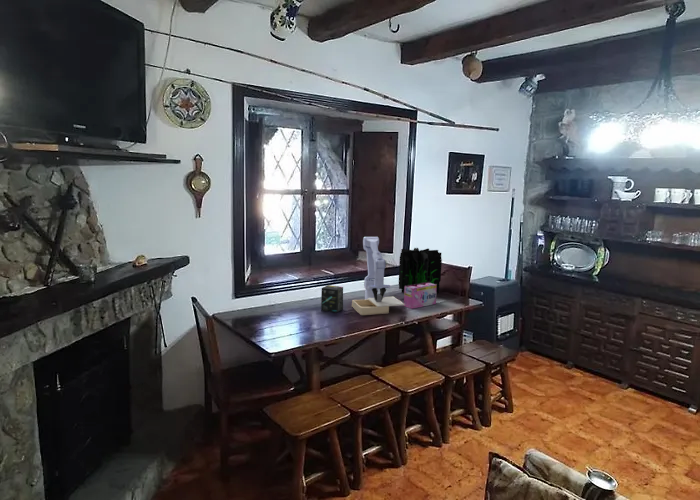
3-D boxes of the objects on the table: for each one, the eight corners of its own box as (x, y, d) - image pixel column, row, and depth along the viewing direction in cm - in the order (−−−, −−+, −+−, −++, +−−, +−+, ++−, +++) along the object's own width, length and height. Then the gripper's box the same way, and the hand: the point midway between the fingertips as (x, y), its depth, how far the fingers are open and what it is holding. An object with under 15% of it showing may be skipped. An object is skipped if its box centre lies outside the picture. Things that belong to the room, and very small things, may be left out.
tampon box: (343, 309, 293) (343, 286, 291) (336, 313, 285) (337, 289, 283) (327, 306, 298) (328, 284, 296) (320, 310, 290) (321, 287, 287)
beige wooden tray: (351, 307, 299) (352, 300, 298) (378, 305, 304) (378, 298, 303) (361, 315, 282) (361, 308, 281) (388, 313, 287) (388, 306, 287)
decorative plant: (446, 291, 347) (448, 251, 342) (423, 298, 325) (425, 255, 321) (414, 284, 366) (416, 246, 361) (390, 290, 345) (392, 250, 340)
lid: (367, 299, 301) (367, 291, 300) (393, 297, 307) (393, 290, 306) (377, 306, 284) (377, 299, 283) (404, 305, 290) (404, 297, 289)
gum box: (429, 300, 319) (430, 281, 316) (437, 303, 312) (438, 283, 310) (403, 306, 305) (404, 285, 302) (411, 309, 298) (412, 288, 296)
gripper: (370, 280, 285) (369, 302, 288) (392, 279, 290) (391, 300, 292) (366, 278, 292) (365, 299, 294) (388, 277, 296) (387, 297, 299)
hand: (378, 299), depth 294 cm, fingers closed on lid, 3 cm apart
